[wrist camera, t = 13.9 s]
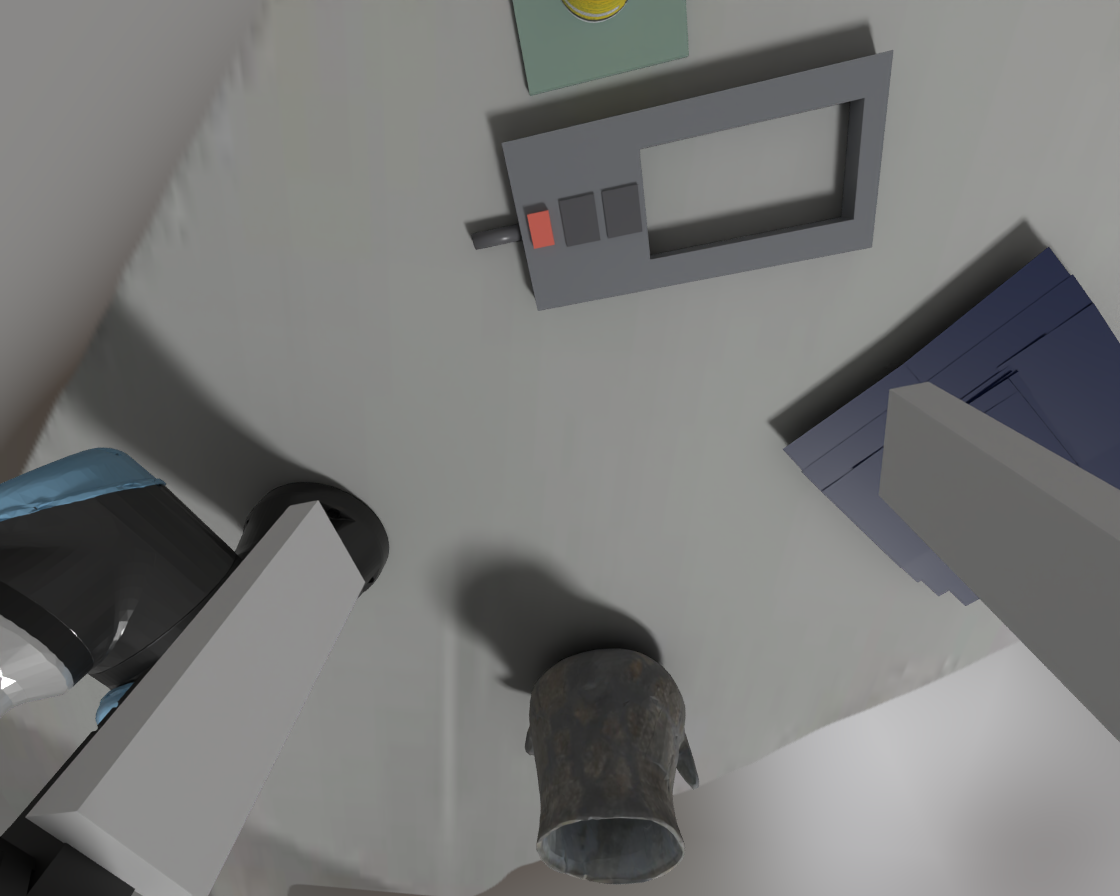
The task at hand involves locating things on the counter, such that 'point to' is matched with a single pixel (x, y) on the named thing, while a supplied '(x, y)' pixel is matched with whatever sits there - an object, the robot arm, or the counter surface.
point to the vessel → (609, 766)
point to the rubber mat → (597, 41)
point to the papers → (984, 402)
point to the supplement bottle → (594, 9)
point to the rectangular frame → (618, 196)
